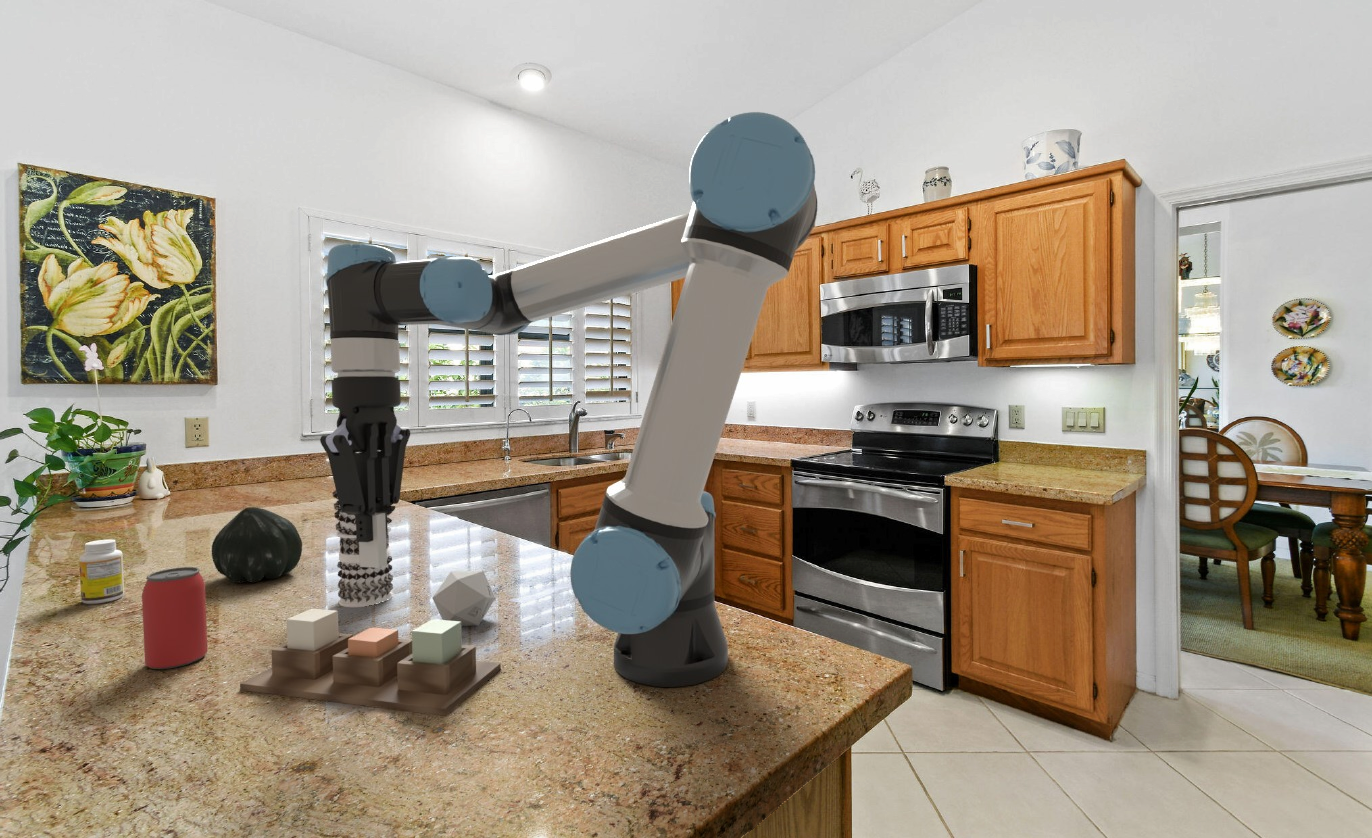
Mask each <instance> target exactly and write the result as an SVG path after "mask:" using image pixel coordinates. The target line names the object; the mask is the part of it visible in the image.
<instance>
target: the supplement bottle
mask: <svg viewBox="0 0 1372 838" xmlns="http://www.w3.org/2000/svg"><path fill="white" fill-rule="evenodd" d="M116 542H117V541H116V539H109V538H108V539H100V540H99V539H98V540H93V541H89V542H86V543H84V552H85V553H83V554H82V555H81V556H80V557H79V558H78V561H79V562H78V564H79V565H78V566H79V579H80V580H79V582H80V584H79V585H80V599H81V602H82V603H83V604H87V605H98V604H104V603H109V602H113V601H116V600H119V599H121V598H122V597H124V595H125V577H124V561H123V560H124V559H123V558H124V557H123V556H124V554H123V552H122V551H121V550H119V549H117V543H116Z"/></svg>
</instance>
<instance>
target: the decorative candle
mask: <svg viewBox="0 0 1372 838" xmlns="http://www.w3.org/2000/svg"><path fill="white" fill-rule="evenodd" d="M390 494H391V493H390ZM332 497H333V498H335V499H336V502H335V503H334V504H333V507H334V510H336V511H335V512H334V517H333V518H335V519H337V520H338V521H337V523H336V524H335V530H336V537H338V538H339V546H340V547H339V548H340V549H339V552H338V560H339V561H338V562H337V565H336V566H337V568H338V569H340V570H338V571H337V577H339V578H340V580H338V582H337V588H338V589H339V590H338V591H337V595H338V597H339V600H338V604H339V606H341V607H344V608H356V609H357V608H365V606H367V607H370V606H369V605H372V606H375V605H374V604H376V603H379V602H382V601H386V600H387V599H390V598H391V597H392V598H393V596H394V593H393V592H392V590H393V589H394V584H393V583H392V581H393V580H394V578H393V577H394V576H393V574H391V571H392V570H393V565H391V564H390V563H391V562H392V561H393V557H392V556H391V546H390V544H389V541H390V540H389V539H390V538H389V536H390V535H389V533H391V531H392V527H391V526H389V524H391V523H392V522H393V520H392V518H390V517H389V516H390V515H391V514H392V513H393V512H387V528H388V532H387V536H386V549H387V565H385V566H382V567H380V568H372V567H360V557H359V542H358V541H357V538H356V534H357V533H356V518H355V515H348V514H347V513H344V512H342V511H341V509H340V505H339V501H338V496H337V492H336V489H335V490H334V491H333V492H332ZM392 595H393V596H392ZM392 598H391V599H392ZM391 599H390V600H391ZM386 602H387V601H386Z"/></svg>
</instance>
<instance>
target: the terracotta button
mask: <svg viewBox="0 0 1372 838" xmlns="http://www.w3.org/2000/svg"><path fill="white" fill-rule="evenodd" d="M399 639H400V638H399V629H393V628H392V629H391V628H381V627H374V626H373V627H369V628H367V629H365V630H364V631H361V632H359V633H357V634H355V635H353V637H351V638H349V639H348V655H357V656H367V657H376V658H377V657H379V656H381V655H382V654H384V653H386V652H387V651H389V650H391V649H393V648H394V647H396V646H398V645H399Z"/></svg>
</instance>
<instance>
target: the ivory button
mask: <svg viewBox="0 0 1372 838" xmlns="http://www.w3.org/2000/svg"><path fill="white" fill-rule="evenodd" d="M338 633H339V611H338V610H333V609H332V610H331V609H322V608H321V609H320V608H310V609H307V610H305V611H303V612H301V613H298V614H296V615H293V616H291V617H288V618H286V636H287V637H286V638H287V639H286V641H287V642H286V643H287V648H291V649H300V650H310V651H315V650H317V649H319V648H321V647H323V646H325V645H327V644H329V643H331V642H333V641H335V640H337V639H339V634H338Z"/></svg>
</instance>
